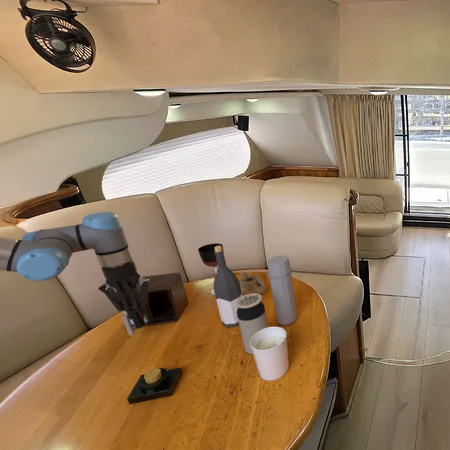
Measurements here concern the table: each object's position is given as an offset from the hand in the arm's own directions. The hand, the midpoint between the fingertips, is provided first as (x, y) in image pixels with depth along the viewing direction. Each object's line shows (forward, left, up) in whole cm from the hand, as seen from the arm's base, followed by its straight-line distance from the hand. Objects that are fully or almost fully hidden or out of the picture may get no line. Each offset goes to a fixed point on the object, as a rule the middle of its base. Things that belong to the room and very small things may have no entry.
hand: (140, 325), depth 103 cm
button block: (+12, -23, -6) cm, 27 cm away
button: (+12, -23, -2) cm, 26 cm away
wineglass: (+17, +27, -6) cm, 32 cm away
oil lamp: (+31, +21, -6) cm, 38 cm away
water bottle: (+45, -1, -6) cm, 45 cm away
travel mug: (+37, -13, -6) cm, 40 cm away
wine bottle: (+27, +3, -6) cm, 28 cm away
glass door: (-5, +4, -5) cm, 8 cm away
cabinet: (-1, +15, -6) cm, 16 cm away
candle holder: (+43, -25, -6) cm, 50 cm away
